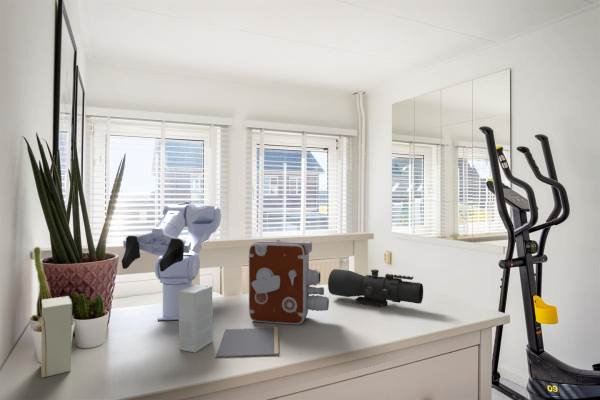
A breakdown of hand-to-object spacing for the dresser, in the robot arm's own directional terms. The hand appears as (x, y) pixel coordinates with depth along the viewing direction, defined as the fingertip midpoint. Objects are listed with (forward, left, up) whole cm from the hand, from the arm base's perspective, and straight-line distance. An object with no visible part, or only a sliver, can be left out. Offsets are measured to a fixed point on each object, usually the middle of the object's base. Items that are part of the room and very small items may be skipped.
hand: (142, 266), depth 73 cm
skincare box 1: (+8, -12, -17) cm, 22 cm away
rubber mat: (-1, +22, -17) cm, 27 cm away
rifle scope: (-25, +56, -17) cm, 63 cm away
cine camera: (-14, +31, -17) cm, 38 cm away
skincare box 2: (0, +11, -17) cm, 20 cm away
